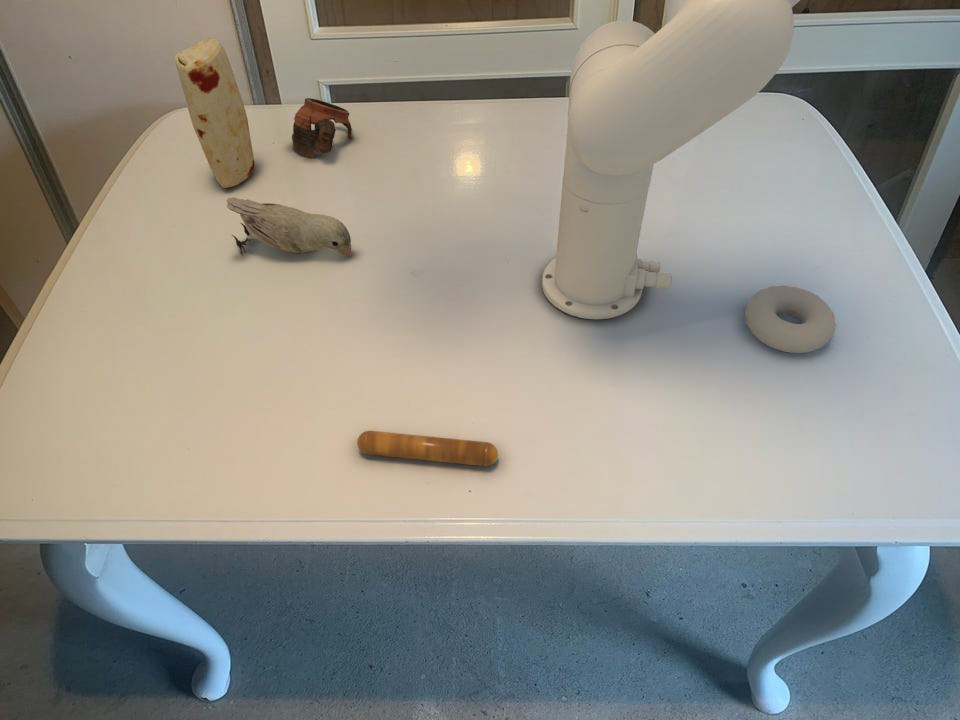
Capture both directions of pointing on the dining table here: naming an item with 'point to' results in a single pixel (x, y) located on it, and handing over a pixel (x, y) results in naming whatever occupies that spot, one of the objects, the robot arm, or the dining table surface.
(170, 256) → the dining table surface
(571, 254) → the robot arm
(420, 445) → the polished stone stick
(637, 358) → the dining table surface
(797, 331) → the donut
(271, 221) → the decorative bird
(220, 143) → the food model
